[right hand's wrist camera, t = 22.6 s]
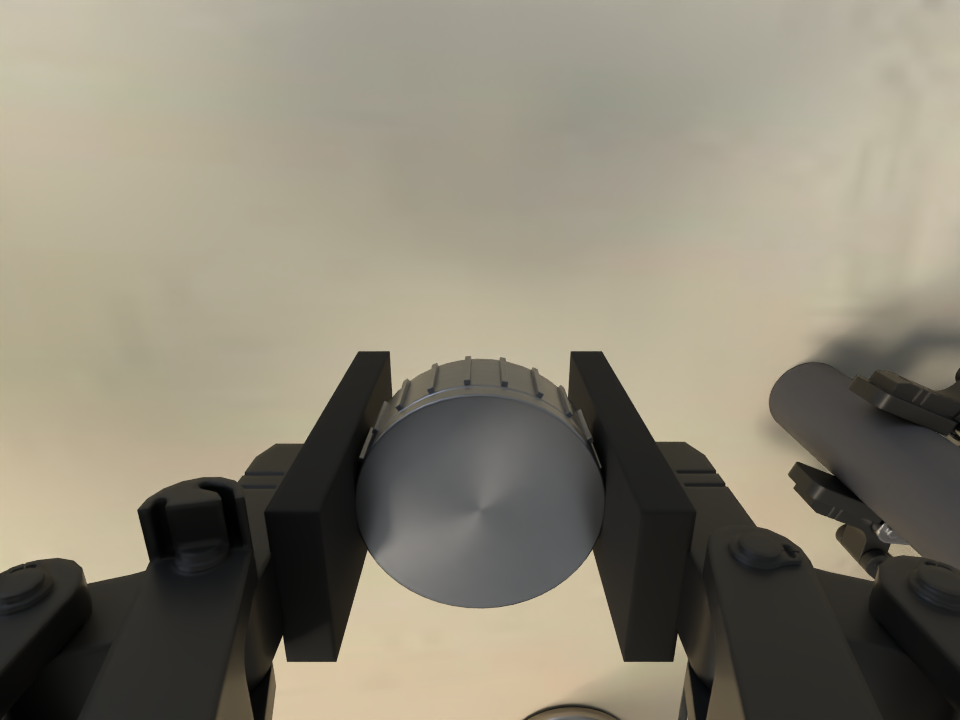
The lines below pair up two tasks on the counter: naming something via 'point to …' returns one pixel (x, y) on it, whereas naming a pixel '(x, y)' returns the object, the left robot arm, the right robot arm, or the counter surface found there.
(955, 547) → the dark gray cylinder
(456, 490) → the lid
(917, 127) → the counter surface
